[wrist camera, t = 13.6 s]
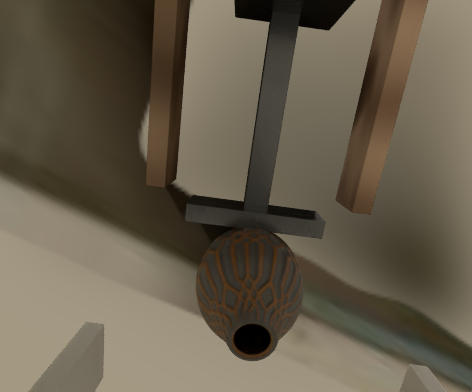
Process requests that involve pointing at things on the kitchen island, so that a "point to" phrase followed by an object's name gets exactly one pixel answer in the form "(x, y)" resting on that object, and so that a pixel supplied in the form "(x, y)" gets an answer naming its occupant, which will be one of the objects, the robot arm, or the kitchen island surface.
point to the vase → (249, 290)
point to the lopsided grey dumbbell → (270, 122)
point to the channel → (366, 118)
